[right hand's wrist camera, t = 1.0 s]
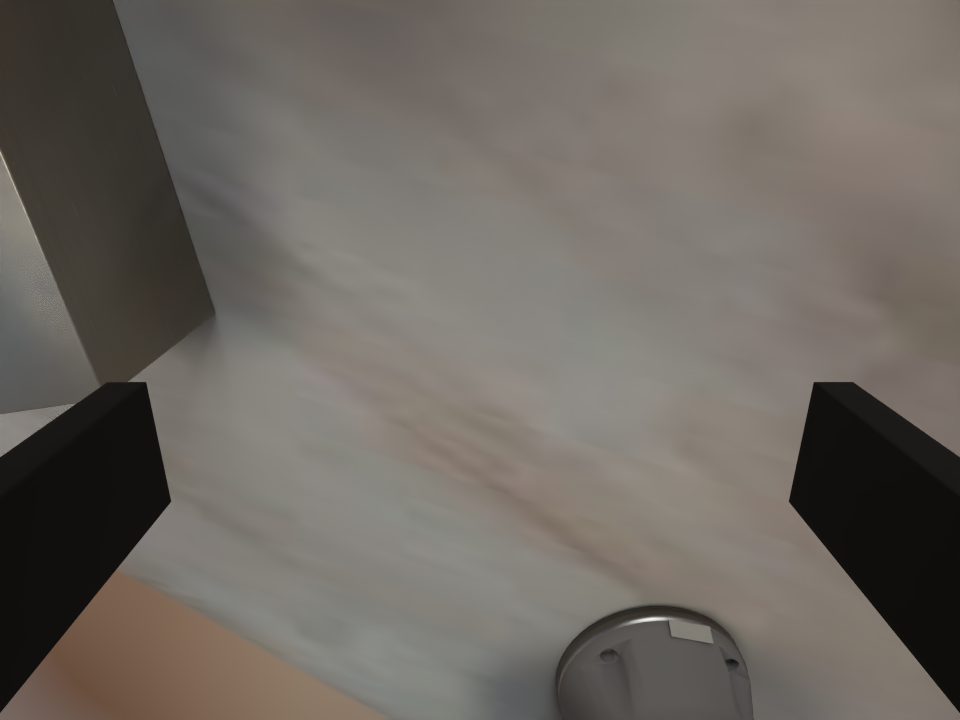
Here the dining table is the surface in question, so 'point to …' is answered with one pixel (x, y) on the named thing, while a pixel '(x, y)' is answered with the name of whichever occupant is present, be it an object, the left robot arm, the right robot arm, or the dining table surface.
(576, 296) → the dining table surface
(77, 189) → the box
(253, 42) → the dining table surface
